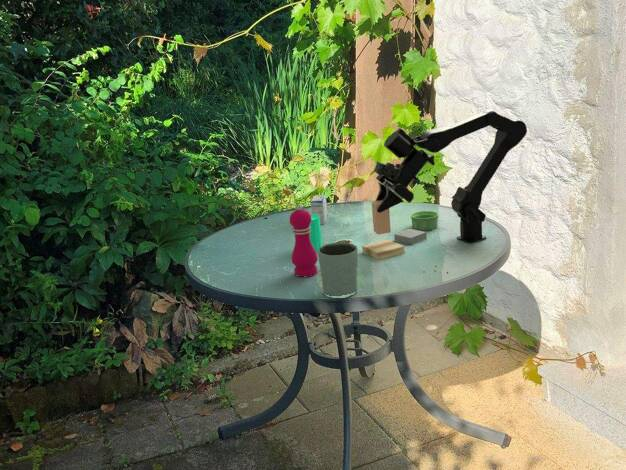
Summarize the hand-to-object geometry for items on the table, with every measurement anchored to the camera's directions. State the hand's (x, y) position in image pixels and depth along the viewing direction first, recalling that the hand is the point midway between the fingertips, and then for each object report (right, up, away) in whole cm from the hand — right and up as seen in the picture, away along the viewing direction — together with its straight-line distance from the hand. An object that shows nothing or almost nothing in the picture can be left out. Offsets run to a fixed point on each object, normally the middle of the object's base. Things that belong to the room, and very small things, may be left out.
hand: (376, 210), depth 197 cm
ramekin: (+18, -5, +25) cm, 31 cm away
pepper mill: (-20, -18, -7) cm, 28 cm away
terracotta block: (+2, -6, +2) cm, 7 cm away
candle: (-18, -12, +13) cm, 25 cm away
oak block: (+3, -13, +4) cm, 14 cm away
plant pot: (-11, -22, -23) cm, 34 cm away
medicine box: (-16, -3, +43) cm, 46 cm away
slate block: (+12, -9, +14) cm, 20 cm away
